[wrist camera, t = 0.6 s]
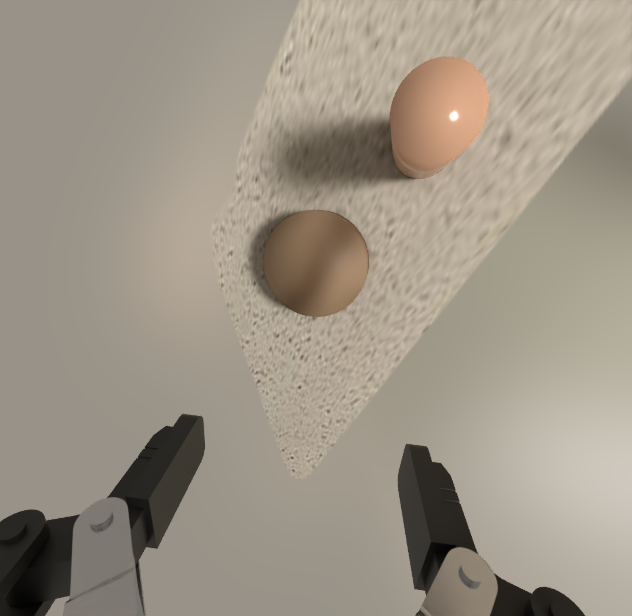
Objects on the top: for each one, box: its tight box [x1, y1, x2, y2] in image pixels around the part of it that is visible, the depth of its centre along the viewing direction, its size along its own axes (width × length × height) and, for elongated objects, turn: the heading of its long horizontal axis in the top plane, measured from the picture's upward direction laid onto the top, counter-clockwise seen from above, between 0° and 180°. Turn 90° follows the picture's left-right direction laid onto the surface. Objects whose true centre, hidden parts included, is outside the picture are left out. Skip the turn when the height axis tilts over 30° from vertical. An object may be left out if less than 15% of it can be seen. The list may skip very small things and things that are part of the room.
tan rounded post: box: [390, 57, 489, 179], centre depth 23 cm, size 5×5×11 cm
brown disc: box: [263, 210, 369, 317], centre depth 31 cm, size 10×10×2 cm
